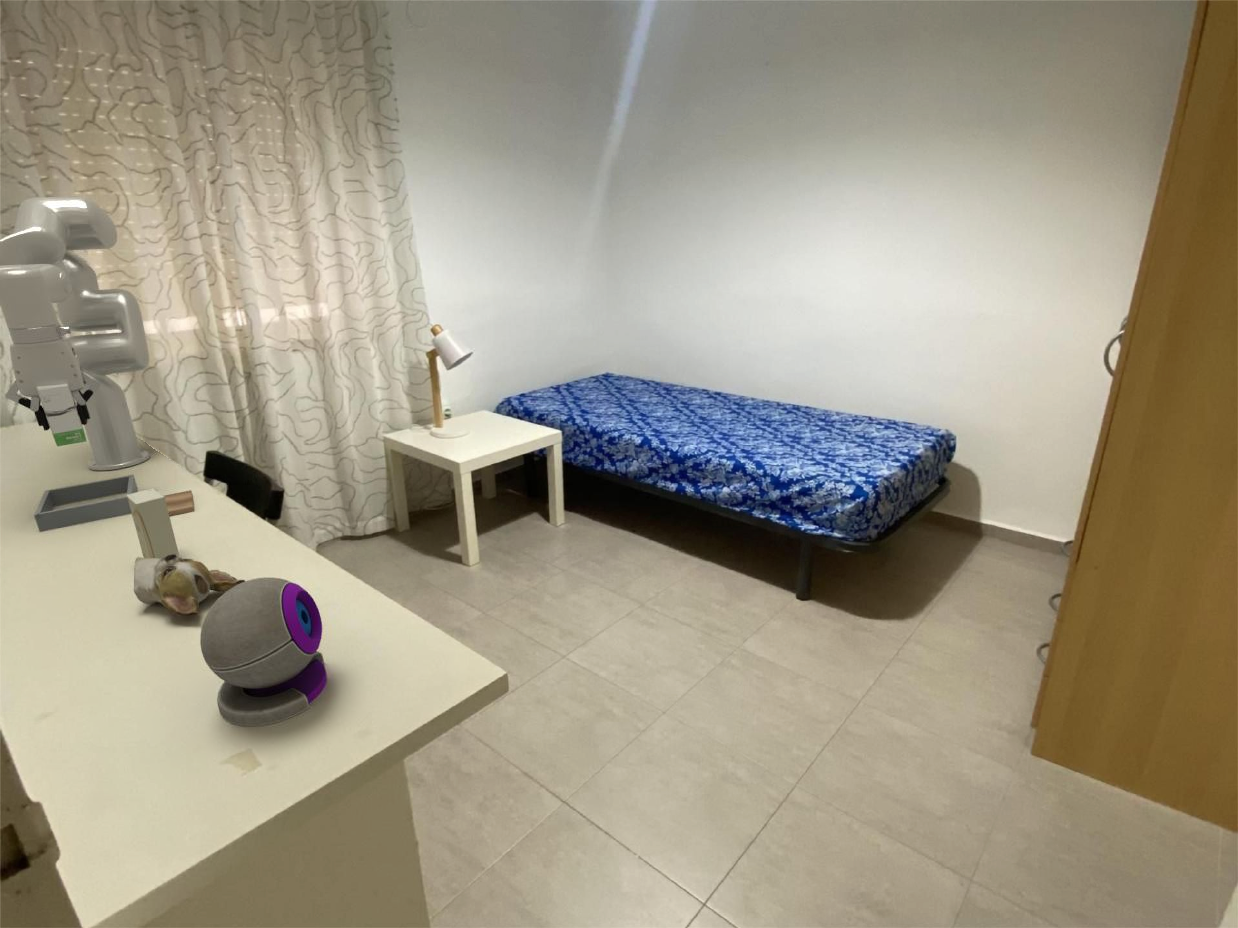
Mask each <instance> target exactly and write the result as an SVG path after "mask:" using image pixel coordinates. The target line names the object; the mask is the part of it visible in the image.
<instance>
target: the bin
mask: <svg viewBox="0 0 1238 928" xmlns="http://www.w3.org/2000/svg"><path fill="white" fill-rule="evenodd" d="M136 492H139V488H138V485H137V481H136V478H135V475H134V474H130V475H124V476H119V477H118V476H117V477H112V478H107V479H102V480H97V481H90V482H84V483H80V484H74V485H73V484H72V485H69V486H63V487H57V488H53V489H46V490H44V492H43V494H42V496H41V499H40V501H39V503H38V506H37V508H36V510H35V512H34V514H33V517H34V518H35V519H34V520H35V522H36V525H37V527H38V528H37V529H38V530H39V532H45V531H49V530H50V531H51V530H55V529H60V528H64V527H65V528H66V527H70V526H74V525H79V524H84V523H91V522H94V521H99V520H104V519H111V518H114V517H115V518H116V517H119V516H124V515H128V514H129V515H130V514H132V513H131V509H130V506H129V502H128V499H127V494H132V493H136ZM125 493H126V496H121V497H116V498H110V499H107V500H106V499H104V500H100V501H95V502H89V503H83V504H80V505H75V506H69V507H63V508H58V509H54V508H55V507H56V506H61V505H68V504H73V503H78V502H83V501H89V500H94V499H99V498H104V497H109V496H116V495H121V494H125Z"/></svg>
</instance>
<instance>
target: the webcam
mask: <svg viewBox="0 0 1238 928" xmlns="http://www.w3.org/2000/svg"><path fill="white" fill-rule="evenodd" d="M200 629H201V630H200V650H201V654H202V657H203V659H204V662H205V663H206V665H207V666H208V667H209V669H210V671H212V673H213V674H215V675H216V676H217V677H218V678H219V679H221V680H222V681H223V683H222V684H221V686H220V687H219V690H218V692H217V698H216V703H217V707H218V710H219V714H220V716H221V717H222V719H224V720H225V721H226V722H229V723H230V724H232V725H233V724H234V725H236V726H237V725H238V726H243V727H256V726H257V727H258V726H267V725H270V724H275V723H279V722H282V721H285V720H287V719H290V718H292V717H295V716H297V715H299V714H301V713H303V712H305V711H306V710H308V709H310V705H309V703H311V702H313V701H314V700H315V699H316V698H317V697H318V696H319V695H320V694H321V692H322V691H323V690H324V689H325V686H326V685H327V680H328V675H327V670H326V666H325V665H324V662H325V661H324V657H323V653H322V652H321V651H318V650H319V647H320V644H321V641H322V636H323V622H322V617H321V614H320V610H319V607H318V605H317V603H316V601H315V600H314V598H313V597H312V595H311V594H309V592H308V591H307V590H306V589H305V588H304V587H302V586H301V585H300V584H298V583H295V582H292V581H289V580H287V579H284V578H283V579H282V578H279V577H257V578H252V579H249V580H245V582H243V583H241V584H238V585H236V586H235V587H233V588H231V589H230V590H228V591H225V592H224V593H223V594H222V595H221V596H220V597H218V598H217V599H216V600H215V602H214V603H213V604H212V605H211V607H210V608H209V609H208V611H207V613H206V615H205V617H204V620H203V622H202V625H201V628H200Z"/></svg>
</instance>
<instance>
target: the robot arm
mask: <svg viewBox="0 0 1238 928" xmlns="http://www.w3.org/2000/svg"><path fill="white" fill-rule="evenodd" d="M117 242H118V232H117V229H116V225H115V223H114V222H113V219H112V218H111V217H110V216H109V215H108V213H107V212H106V211H105V210H104V209H102V207H101V206H100V205H98V204H97V203H96V202H95V201H93V200H91V199H90V198H87V197H84V196H38V197H32V198H31V197H30V198H28V199H25V200H24V201H23V202H22V203H21V204H20V205H19V207H18V211H17V215H16V219H15V224H14V229H13V233H11V234H8V235H6V236H4V237H3V238H0V309H1V312H2V314H3V318H4V321H5V323H6V326H7V329H8V332H9V335H10V338H11V341H12V343H11V344H10V345H9V353H10V360H11V366H12V369H13V374H14V378H15V380H14V382H13V383H12V385H11V386H10V387H9V389H8V391H7V392H6V393H5V396H4V397H5V398H6V399H8V400H10V401H12V402H15V403H18V404H19V405H21V406H23V407H25V408H27V409H29V410H31V412H33V413H34V416H35V419H36V421H37V424H38V427H43V430H44V431H45V432H46V431H49V430H51V429H50V426H49V423H48V420H47V417H46V415H45V412H44V409H43V406H42V403H41V400H40V397H39V394H38V391H37V388H36V387H37V386H47V385H60V384H68V386H69V389H70V391H71V394H72V396H73V398H74V401H75V402H76V408H77V411H78V414H79V417H80V420H81V423H82V426H84V427H83V428H84V429H85V430H84V431H85V432H86V433H85V434H86V435H87V439H88V443H89V445H90V450H91V452H92V455H93V459H90V460H89V461H88V462H87V467H88V468H89V469H90V470H92V471H93V470H94V471H113V470H119V469H124V468H128V467H133V466H135V465H139V464H141V463H144V462H145V461H147V460H148V459H149V458H150V452H149V451H147V450H144V449H143V450H142V449H141V448H140V445H139V441H138V437H137V434H136V431H135V427H134V424H133V423H134V422H133V419H132V415H131V413H130V410H129V409H130V408H129V406H128V402H127V399H126V395H125V392H124V390H123V388H122V387H121V386H120V385H119V384H118V383H117V382H115V380H113V379H111V378H110V377H108V376H109V375H113V374H123V373H133V372H140V371H143V370H146V369H147V368H148V367H149V364H150V354H149V348H148V343H147V338H146V331H145V325H144V321H143V316H142V312H141V308H140V305H139V302H138V300H137V299H136V297H135V295H134V294H133V293H132V292H131V291H129V290H127V289H123V288H110V289H109V288H108V289H100V288H99V282H98V278H97V276H98V275H97V274H96V271H95V270H94V269H93V268H92V267H91V266H90V265H89V264H88V263H87V262H86V261H84V260H83V259H81V258H80V257H79V256H77V255H75V254H74V253H72V252H71V251H83V250H84V251H85V250H88V251H89V250H107V249H111V248H114V247H115V245H116V244H117ZM53 304H56V307H57V312H58V317H59V320H60V322H61V324H60V323H59V320H58V318H57V315H56V314H57V313H56V312H55V307H54V305H53ZM116 330H118V331H120V332H110V333H109V332H108V333H107V332H106V333H94V334H93V333H92V334H83V335H82V334H80V335H73V336H69V337H66V338H64V336H65V335H68V334H71V333H72V332H75V333H83V332H84V333H85V332H86V333H87V332H88V333H90V332H103V331H104V332H105V331H116ZM18 392H20V394H18ZM28 397H29V398H31V399H29V398H28Z"/></svg>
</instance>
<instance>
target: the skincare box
mask: <svg viewBox="0 0 1238 928" xmlns="http://www.w3.org/2000/svg"><path fill="white" fill-rule="evenodd" d="M126 496H127V499H128V502H129V506H130V509H131V513H130V514H131V516H132V519H133V523H134V527H135V531H136V534H137V538H138V542H139V545H140V548H141V553H142V558H158V559H162V558H164V557H166V556H168V555H172V554H175V555H178V556H180V553H179V549H178V545H177V541H176V538H175V532H174V529H173V526H172V520H171V518H170V517H171V516H169V512H168V508H167V504H166V500H165V497H164V494H162V492H160V491H159V490H157V489H156V488H154V487H152V488H148V489H145V490H140V491H138V492H136V493H132V494H127V493H126Z"/></svg>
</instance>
